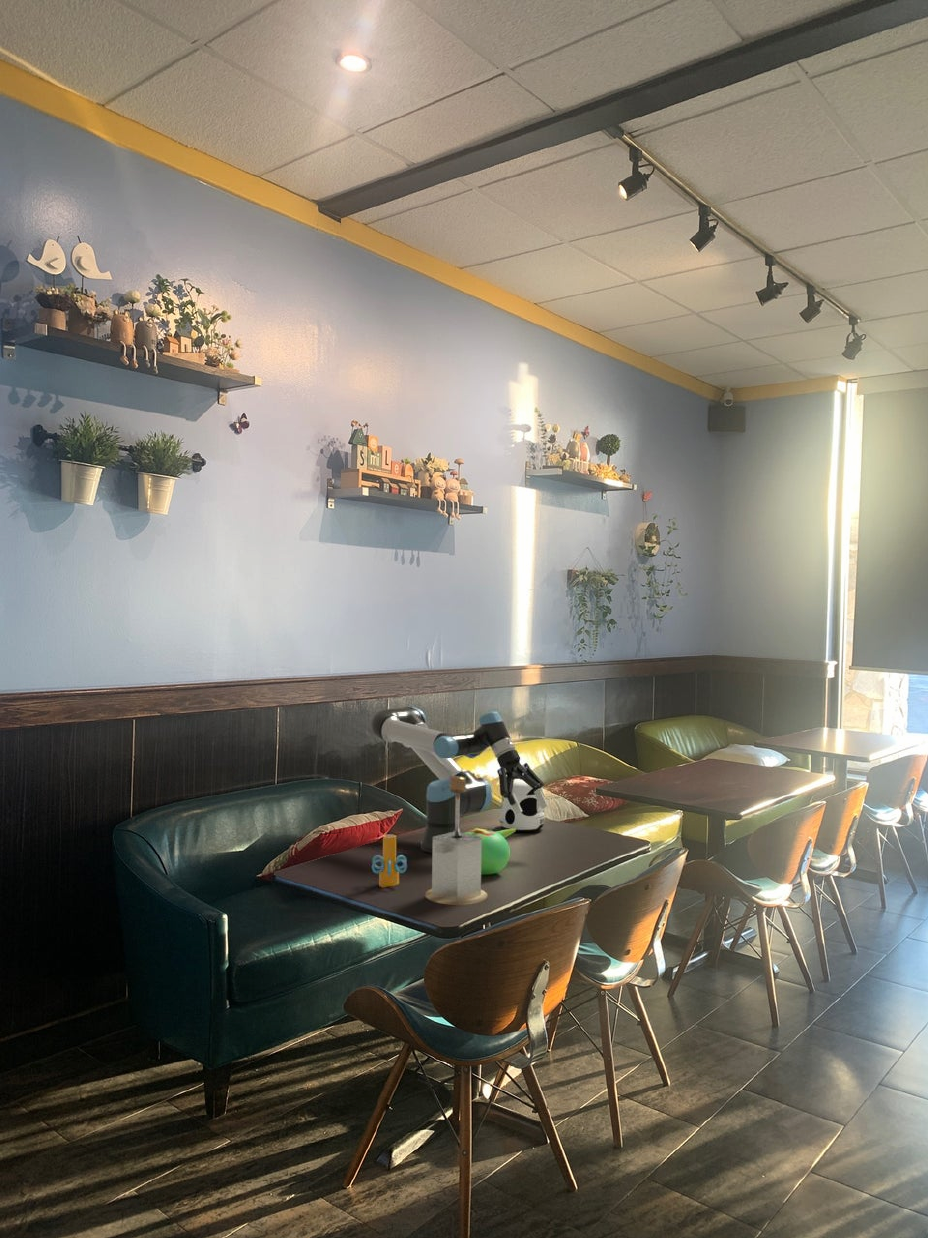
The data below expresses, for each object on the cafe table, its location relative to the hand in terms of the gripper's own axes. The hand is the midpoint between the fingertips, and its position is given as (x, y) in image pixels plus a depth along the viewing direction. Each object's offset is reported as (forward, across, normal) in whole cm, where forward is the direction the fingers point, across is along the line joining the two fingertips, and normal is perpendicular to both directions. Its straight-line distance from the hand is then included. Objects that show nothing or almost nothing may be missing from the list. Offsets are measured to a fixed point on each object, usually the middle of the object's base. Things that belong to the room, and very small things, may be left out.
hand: (532, 810), depth 315 cm
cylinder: (+8, -55, +18) cm, 58 cm away
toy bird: (+14, -24, +9) cm, 29 cm away
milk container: (-3, +29, +33) cm, 44 cm away
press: (+20, -48, -1) cm, 52 cm away
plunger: (+8, -48, -9) cm, 50 cm away
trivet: (+20, -48, 0) cm, 52 cm away
